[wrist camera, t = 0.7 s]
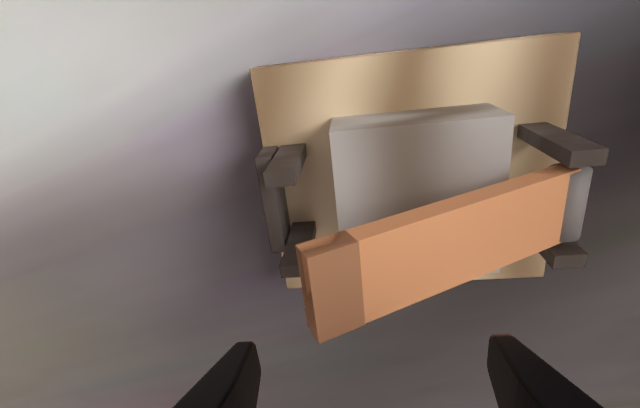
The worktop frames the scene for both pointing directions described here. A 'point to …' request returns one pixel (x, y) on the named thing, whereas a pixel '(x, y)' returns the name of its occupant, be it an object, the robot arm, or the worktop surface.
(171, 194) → the worktop surface
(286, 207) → the clamp base
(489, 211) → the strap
